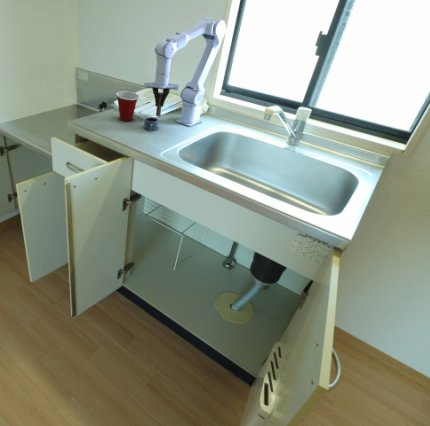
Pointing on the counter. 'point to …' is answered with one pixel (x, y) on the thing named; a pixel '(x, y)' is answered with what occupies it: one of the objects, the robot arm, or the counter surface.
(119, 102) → the plastic cup
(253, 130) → the counter surface
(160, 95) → the stirrer
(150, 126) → the coffee cup
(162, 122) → the counter surface
